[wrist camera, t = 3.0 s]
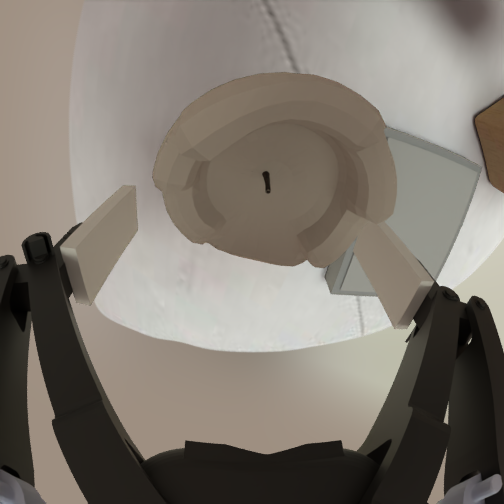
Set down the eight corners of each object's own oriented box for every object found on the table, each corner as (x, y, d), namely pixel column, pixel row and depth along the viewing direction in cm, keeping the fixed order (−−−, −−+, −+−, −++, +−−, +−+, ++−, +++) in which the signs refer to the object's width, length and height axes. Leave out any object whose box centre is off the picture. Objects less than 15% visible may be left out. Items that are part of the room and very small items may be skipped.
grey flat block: (367, 121, 22) (382, 126, 19) (466, 158, 23) (483, 167, 20) (324, 277, 32) (331, 295, 29) (416, 283, 33) (426, 299, 30)
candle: (206, 224, 28) (160, 418, 11) (223, 84, 20) (126, 52, 4) (277, 233, 28) (306, 428, 12) (305, 97, 21) (469, 131, 4)
